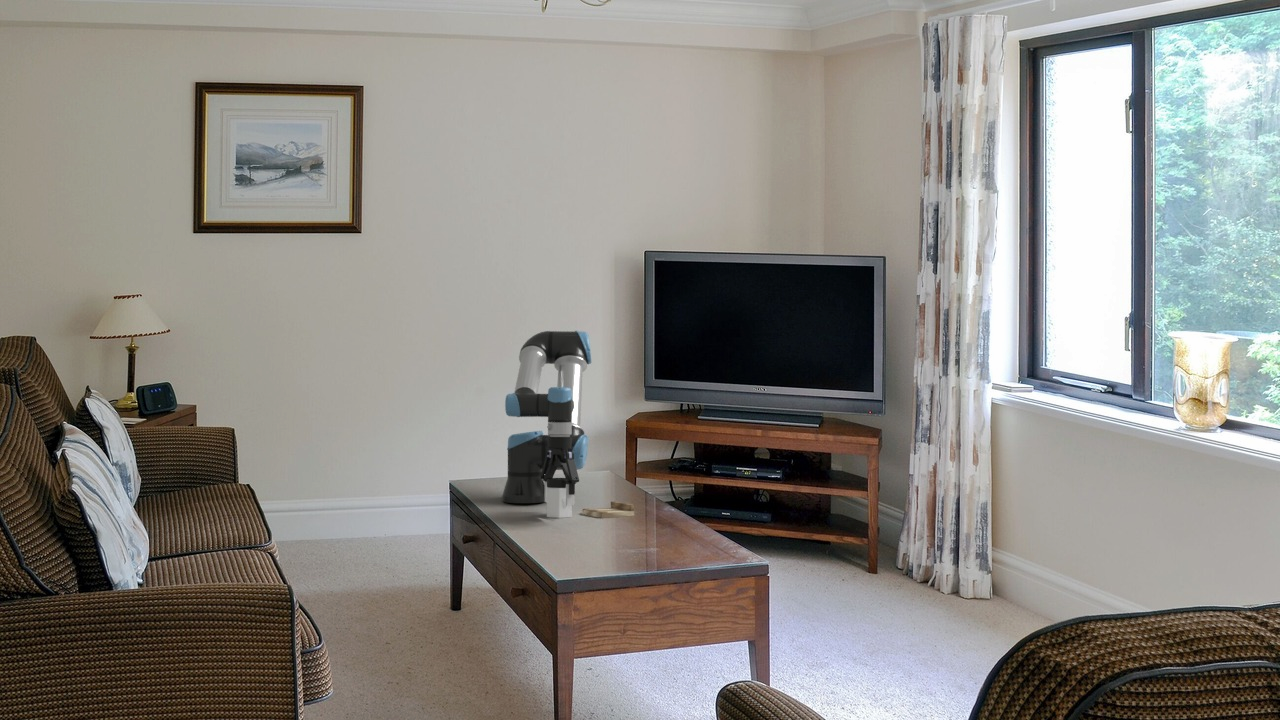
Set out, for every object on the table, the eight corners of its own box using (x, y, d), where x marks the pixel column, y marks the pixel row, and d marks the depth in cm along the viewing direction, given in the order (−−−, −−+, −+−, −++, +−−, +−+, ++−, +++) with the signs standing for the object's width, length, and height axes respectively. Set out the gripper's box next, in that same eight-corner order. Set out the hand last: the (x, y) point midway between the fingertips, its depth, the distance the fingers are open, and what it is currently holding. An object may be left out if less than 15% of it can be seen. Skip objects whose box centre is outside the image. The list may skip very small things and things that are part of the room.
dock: (582, 514, 350) (582, 503, 350) (613, 512, 356) (613, 501, 356) (602, 518, 340) (602, 506, 340) (634, 515, 346) (634, 504, 346)
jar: (553, 518, 338) (553, 480, 338) (540, 516, 345) (540, 478, 345) (578, 517, 343) (578, 479, 343) (565, 514, 350) (565, 477, 350)
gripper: (530, 435, 353) (529, 501, 352) (569, 437, 332) (568, 507, 331) (550, 434, 357) (550, 500, 356) (590, 436, 336) (590, 506, 335)
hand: (559, 503), depth 343 cm, fingers open, 13 cm apart
